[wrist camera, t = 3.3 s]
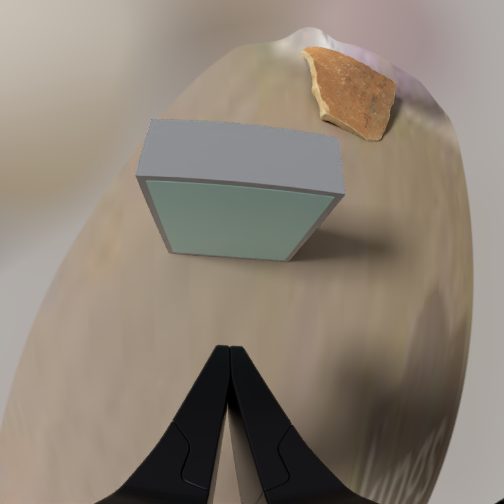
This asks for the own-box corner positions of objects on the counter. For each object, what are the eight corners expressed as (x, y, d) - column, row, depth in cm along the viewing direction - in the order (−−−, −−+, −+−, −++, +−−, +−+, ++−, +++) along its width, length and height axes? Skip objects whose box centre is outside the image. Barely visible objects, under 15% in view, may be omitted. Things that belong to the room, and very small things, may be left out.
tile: (288, 262, 18) (345, 194, 10) (168, 253, 17) (135, 176, 9) (288, 222, 19) (338, 137, 11) (174, 213, 18) (151, 119, 10)
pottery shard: (302, 50, 25) (308, 32, 23) (386, 83, 26) (395, 67, 23) (277, 111, 22) (283, 88, 20) (384, 152, 22) (398, 134, 20)
